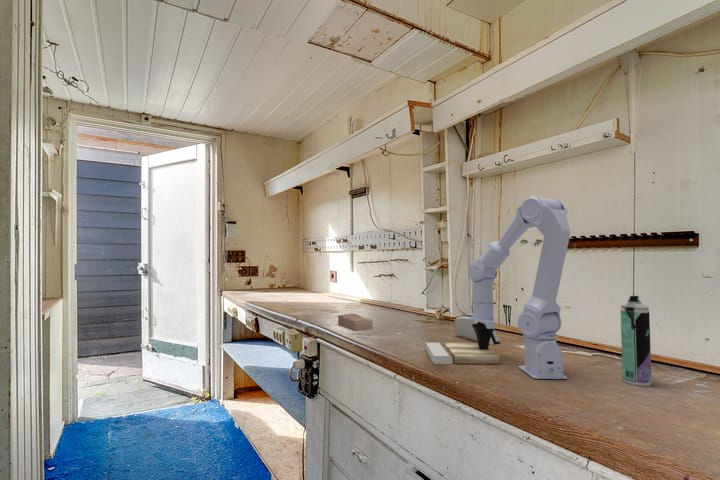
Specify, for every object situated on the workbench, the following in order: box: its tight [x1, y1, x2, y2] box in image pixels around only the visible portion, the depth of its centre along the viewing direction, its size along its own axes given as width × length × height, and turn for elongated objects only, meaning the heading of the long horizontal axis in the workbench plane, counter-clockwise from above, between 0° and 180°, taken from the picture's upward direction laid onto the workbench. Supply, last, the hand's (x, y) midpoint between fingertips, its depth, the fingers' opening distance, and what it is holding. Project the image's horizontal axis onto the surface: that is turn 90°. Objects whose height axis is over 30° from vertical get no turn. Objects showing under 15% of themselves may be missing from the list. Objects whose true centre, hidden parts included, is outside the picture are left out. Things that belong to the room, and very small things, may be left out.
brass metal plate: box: [443, 342, 501, 365], centre depth 112 cm, size 16×12×2 cm
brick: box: [337, 313, 374, 332], centre depth 158 cm, size 17×8×5 cm, turn 29°
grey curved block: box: [454, 313, 502, 346], centre depth 134 cm, size 17×5×10 cm, turn 26°
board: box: [425, 341, 454, 365], centre depth 112 cm, size 16×5×2 cm, turn 178°
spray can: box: [620, 295, 653, 387], centre depth 89 cm, size 6×6×20 cm
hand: (483, 349), depth 111 cm, fingers closed, pressing on brass metal plate
